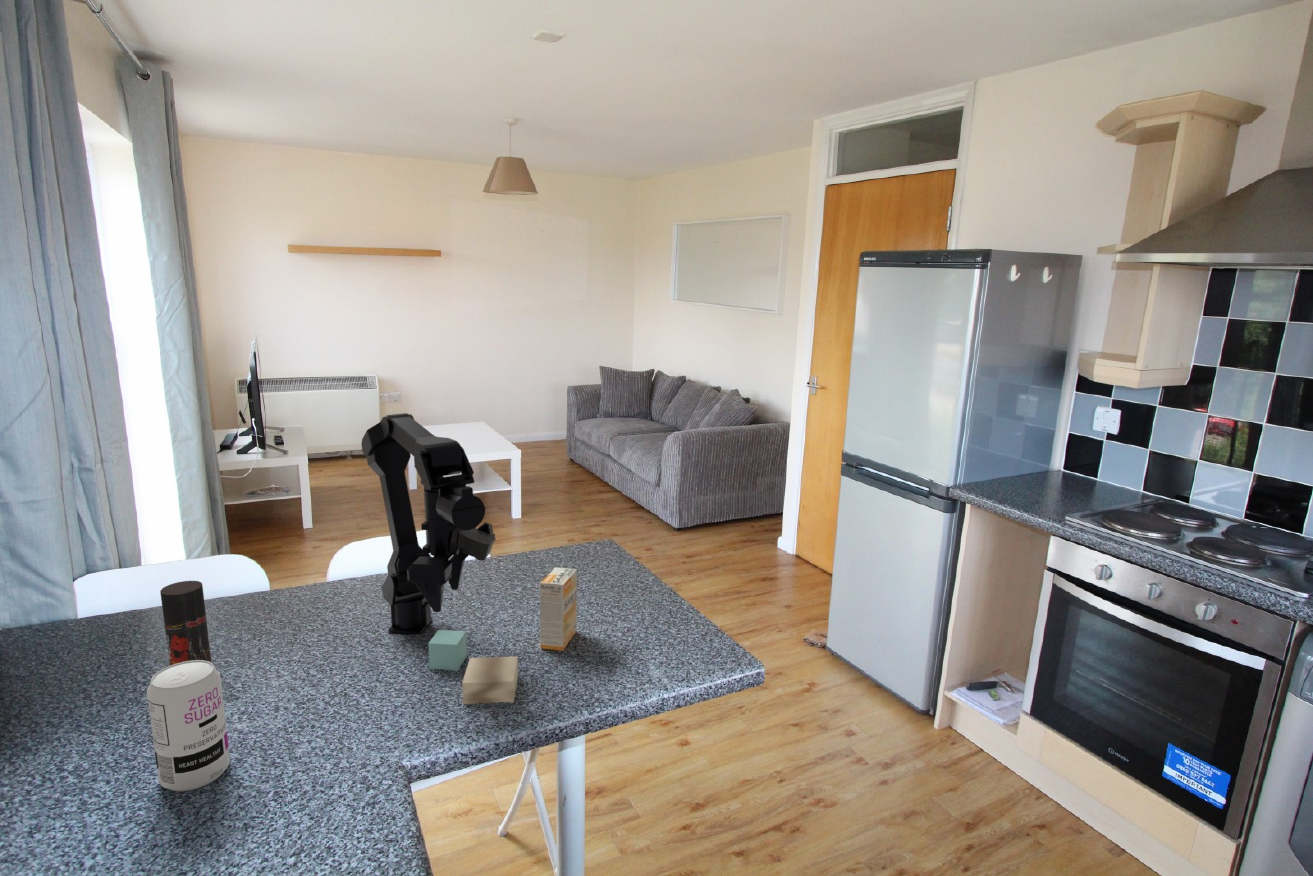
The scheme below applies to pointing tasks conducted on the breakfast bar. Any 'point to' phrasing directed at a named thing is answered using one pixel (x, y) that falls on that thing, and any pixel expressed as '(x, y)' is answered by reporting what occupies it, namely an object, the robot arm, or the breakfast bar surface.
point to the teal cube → (447, 650)
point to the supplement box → (558, 608)
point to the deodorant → (185, 622)
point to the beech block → (490, 680)
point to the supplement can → (188, 725)
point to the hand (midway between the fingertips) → (446, 600)
